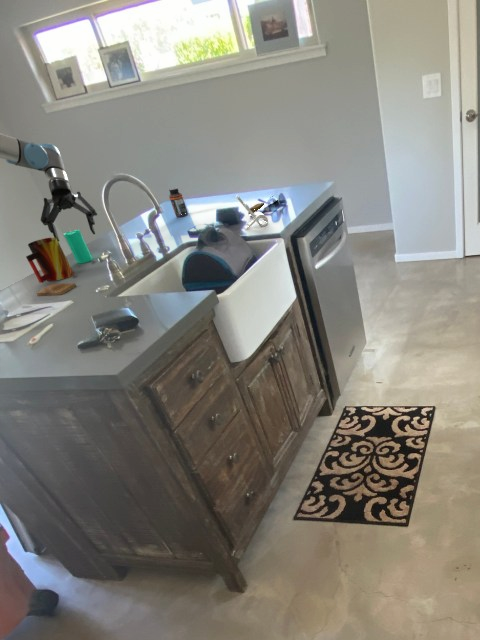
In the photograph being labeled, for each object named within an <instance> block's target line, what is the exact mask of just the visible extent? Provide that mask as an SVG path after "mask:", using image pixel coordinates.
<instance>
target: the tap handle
mask: <svg viewBox="0 0 480 640" xmlns="http://www.w3.org/2000/svg"><path fill="white" fill-rule="evenodd" d="M273 196H274V195H272V196H271V197H273ZM263 205H264V202H261V203H260V202H259V203H256V204H254V205H253V206H251V207H250V208H249V209H250V210H251V211H252V212H253V213H254V212H255V211H257V210H258V209H260V208H261V207H262V206H263ZM254 209H255V210H254ZM247 212H248V211H247ZM249 214H250V213H249V212H248V214H247V215H249ZM249 217H250V218H253V217H252V216H249Z"/></svg>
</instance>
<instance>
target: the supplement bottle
mask: <svg viewBox="0 0 480 640" xmlns="http://www.w3.org/2000/svg"><path fill="white" fill-rule="evenodd" d="M168 191H169V195H168V196H169V200H170V203H171V205H172V209H173V212H174V215H175V217H176V218H182V217H186V216H188V214H189V212H188V208H187V205H186V203H185V199H184V197H183V196H184V195H183V194H182V193H181V192H179V188H178V187H172V188H169V189H168ZM185 213H186V214H185ZM181 214H182V215H181Z"/></svg>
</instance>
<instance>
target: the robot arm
mask: <svg viewBox="0 0 480 640" xmlns="http://www.w3.org/2000/svg"><path fill="white" fill-rule="evenodd" d="M0 159H2V160H5V161H6V162H7V163H8V164H10V165H14V166H16V167H17V166H18V167H22V168H27V169H30V170H31V169H32V170H35V171H40V172H43V173H44V175H45V178H46V182H47V185H48V188H49V191H50V195H51V198H49V199H48V198H47V197H44V198H43V208H42V212H41V215H40V222H41V223H42V225H43V226H47V228H48V231H49V232H50V233H51V234H52V236H53V237H55V238H57V240H58V242H60V238H59V236H58V232H57V229H56V226H55V224H54V223H55V221H56V219H57V218H58V215H59V214H60V213H61V212H62V210H63V211H65V210H70V209H72V208H74V209H75V210H77V211H79V212H80V213H82V214H83V215H85V216H86V217H85V218H86V220H87V223H88V226H89V229H90V231H91V234H92V235H96V231H95V228H94V226H95V225H96V222H95V219H94V217H95V216H98V213H97V211H96V209H95V208H94V207H93V206H92V205H91V203H89V202H88V201H87V200H86V199H85V198H84V196H83V194H82V193H81V192H80V191H77V192H76V194H74V193H73V189H72V187H71V184H70V180H69V177H68V174H67V170H66V168H65V164H64V159H63V157H62V155H61V152H60V151H59V148H58V147H56V146H55V145H54V144H52V143H48V142H47V143H44V142H43V143H40V144H37V143H36V142H28V141H25V140H23V139H18V138H16V137H13V136H10V135H7V134H4V133H1V132H0ZM76 200H78V201H80V202H81V203H82V204H83V205H84V206H85V207H86V208H85V207H84V206H82V205H80V204H79V203H78V202H77V201H76Z"/></svg>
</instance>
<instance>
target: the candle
mask: <svg viewBox="0 0 480 640" xmlns="http://www.w3.org/2000/svg"><path fill="white" fill-rule="evenodd" d="M69 230H70V231H66V232H65V233H63V236H64V239H65V241H66V242H67V245H68V247H69V249H70V251H71V253H72V255H73V257H74V259H75V261H76V263H77V264H85V263H89V262H92V261H93V256H92V254H91V252H90V249H89V247H88V245H87V244H86V241H85V239H84V237H83V235H82V233H81V229H75V230H71V229H69Z"/></svg>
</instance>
